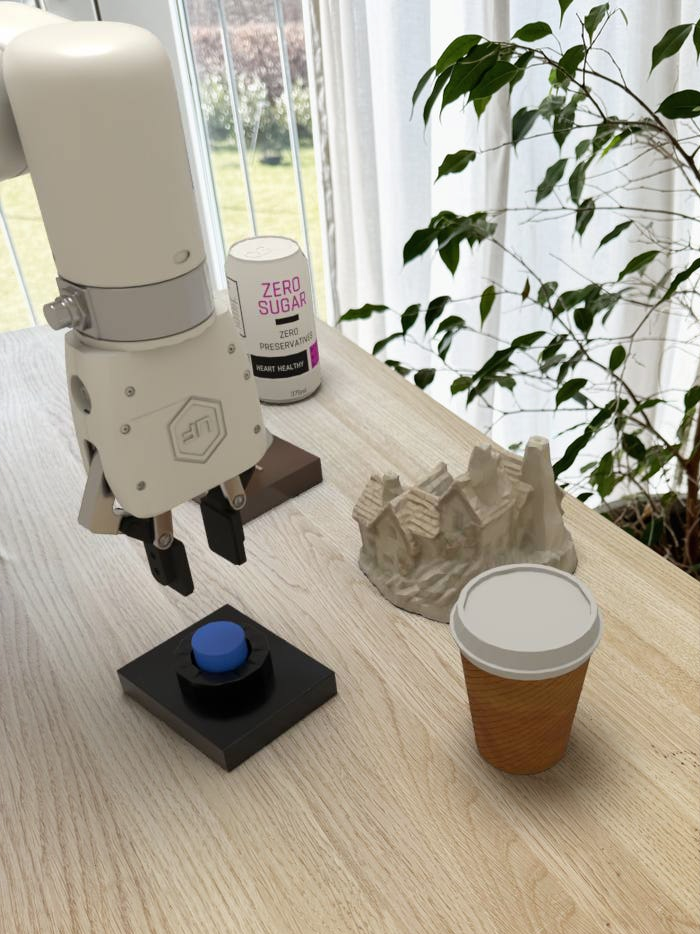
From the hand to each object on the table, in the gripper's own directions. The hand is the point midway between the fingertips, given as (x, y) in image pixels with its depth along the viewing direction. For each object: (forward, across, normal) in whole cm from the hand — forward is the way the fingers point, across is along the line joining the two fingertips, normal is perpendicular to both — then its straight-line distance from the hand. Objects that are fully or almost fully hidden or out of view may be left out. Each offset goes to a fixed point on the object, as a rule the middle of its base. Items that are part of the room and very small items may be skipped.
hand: (202, 568), depth 65 cm
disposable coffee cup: (+11, +10, -19) cm, 24 cm away
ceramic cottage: (+11, +23, -3) cm, 26 cm away
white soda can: (+11, +34, +33) cm, 49 cm away
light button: (+8, 0, 0) cm, 8 cm away
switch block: (+11, 0, 0) cm, 11 cm away
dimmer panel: (+11, +19, +23) cm, 32 cm away
